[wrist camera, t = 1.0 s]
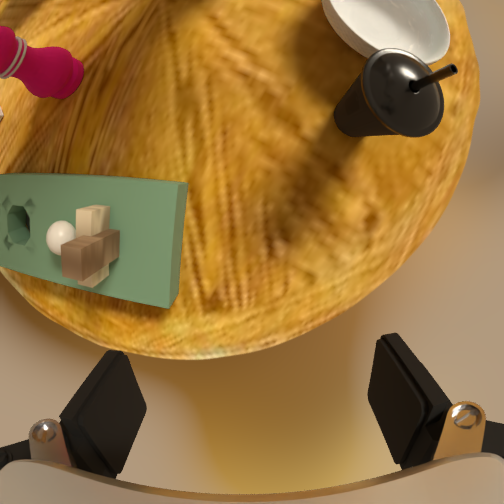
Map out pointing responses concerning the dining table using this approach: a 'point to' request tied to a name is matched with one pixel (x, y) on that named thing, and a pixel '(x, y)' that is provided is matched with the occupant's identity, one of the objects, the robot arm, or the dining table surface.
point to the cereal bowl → (391, 26)
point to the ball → (59, 235)
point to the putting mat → (121, 218)
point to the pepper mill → (39, 66)
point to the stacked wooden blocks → (90, 247)
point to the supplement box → (1, 113)
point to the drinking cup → (393, 97)
